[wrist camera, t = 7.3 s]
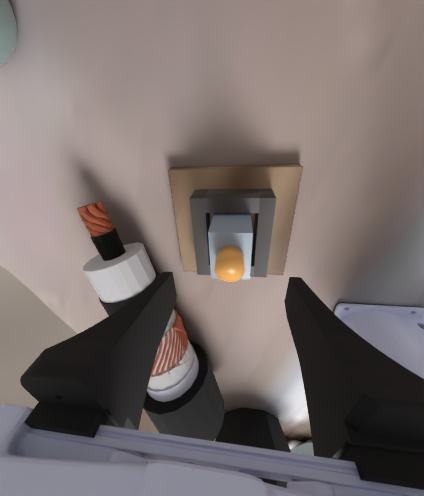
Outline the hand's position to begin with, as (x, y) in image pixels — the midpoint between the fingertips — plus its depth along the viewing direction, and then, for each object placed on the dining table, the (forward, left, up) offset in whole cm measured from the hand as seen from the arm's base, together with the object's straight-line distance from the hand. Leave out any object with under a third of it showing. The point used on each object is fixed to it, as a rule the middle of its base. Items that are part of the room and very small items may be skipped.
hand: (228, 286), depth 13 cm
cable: (+9, +14, -10) cm, 19 cm away
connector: (0, 0, -8) cm, 8 cm away
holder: (0, 0, -9) cm, 9 cm away
